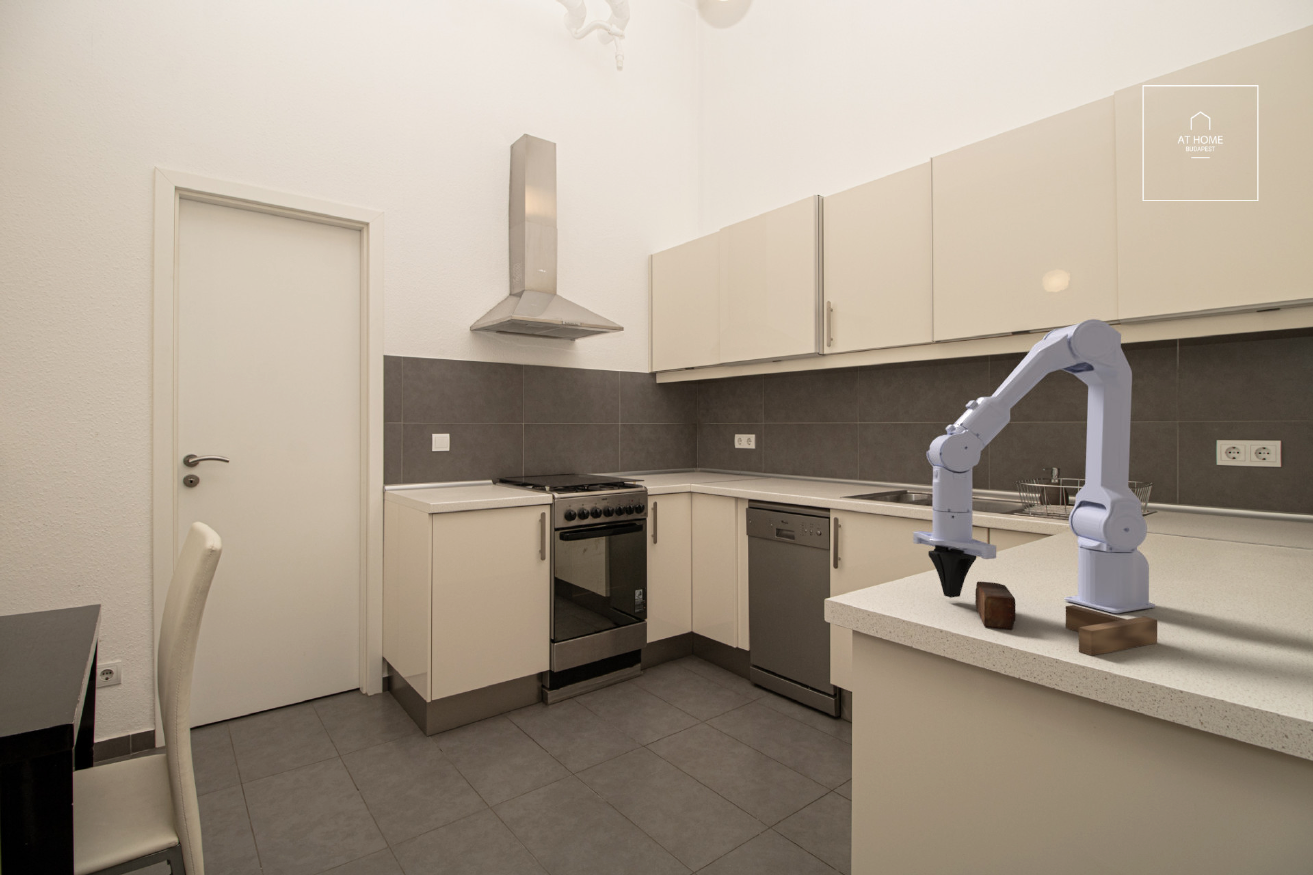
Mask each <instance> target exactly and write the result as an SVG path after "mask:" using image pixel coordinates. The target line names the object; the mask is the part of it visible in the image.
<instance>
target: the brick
mask: <svg viewBox="0 0 1313 875" xmlns="http://www.w3.org/2000/svg"><path fill="white" fill-rule="evenodd" d="M975 585H976V587H975V594H974V595H975V597H974V598H975V601H974V603H975V608H976V611H977V614H978V616H979V617H980V619H981V623H982V624H983V627H984V628H987V629H988V628H989V629H997V630H1005V631H1011V630H1013V629H1014V625H1015V622H1016V621H1017V620H1016V619H1017V618H1016V615H1017V614H1016V605H1017V604H1016V599H1015V597H1014V596H1013V594H1012V593H1011V591H1010V590H1009V588H1008V587H1007V586H1006V584H1003V583H1002V584H1001V583H999V582H998V583H997V582H991V581H977V582H976V584H975Z"/></svg>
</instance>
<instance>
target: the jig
mask: <svg viewBox="0 0 1313 875" xmlns="http://www.w3.org/2000/svg"><path fill="white" fill-rule="evenodd" d="M1065 629H1067V630H1068V629H1069V630H1071V631H1074V632H1078V652H1079V653H1081V654H1085V655H1088V656H1090V657H1093V656H1097V655H1102V654H1103V655H1104V654H1108V653H1112V652H1117V651H1123V650H1127V649H1132V648H1138V647H1144V646H1148V645H1152V644H1153V645H1154V644H1157V643H1158V619H1156V618H1152V617H1149V616H1145V615H1143V616H1139V617H1131V618H1124V617H1120V616H1116V615H1113V614H1108V613H1105V612H1101V611H1097V610H1094V609H1093V610H1092V609H1089V608H1086V607H1082V606H1077V605H1075V604H1073V605H1072V604H1071V605H1066V606H1065Z"/></svg>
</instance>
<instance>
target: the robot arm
mask: <svg viewBox="0 0 1313 875" xmlns="http://www.w3.org/2000/svg"><path fill="white" fill-rule="evenodd" d="M1121 344H1122V333H1121V332H1119V331H1118V330H1116V329H1115V328H1114V327H1113V326H1111V325H1110V324H1109V323H1107V322H1106V321H1104V320H1100V319H1095V318H1090V319H1087V320H1084V321H1082V322H1079V323H1076V324H1072V325H1070V326H1066V327H1065V326H1064V327H1061V328H1055V329H1052V330H1051V331H1049V332H1047V333H1046V334H1045V335H1044V337H1043V338H1042V340H1040V341H1038V342H1036V343H1035V344H1034V345H1032V346H1031V349H1030V351H1029V352H1027V355H1026V356H1024V357H1023V359H1022V360H1021V361H1020V363H1019V364H1018V365H1017V366H1016V367H1015V368H1014V369H1013V371H1012V372H1010V374H1009V375H1008V377H1006V378H1005V379H1004V381H1003V382H1002V384H1000V386H998V387H997V389H996V390H995V391H994V393H992V395H990V396H981V397H978V398H977V399H976V400H973V399H972V400H969V401H968V403H967V404H965V408H966V409H967V410H965V411H964V412H963V414H961V416H960V417H959V418H957V420H956V421H954V423H953V424H949V425H947V426H946V427H945V431H946V434H942V435H939V436H937V437H936V438H935V439H933V440H932V442H931V443H930V445H929V449H928V450H927V451H926V458H927V460H928V463H929V464H930V466H932V531H924V530H919V531H918V530H917V531H913V533H912V534H913V536H912V538H913V539H912V541H913V544H918V545H921V544H922V545H925V546H931V547H934V549H933V550H928V557H929V558H930V560H931V561H932V563H933V565H934V567H935V569H936V573H937V575H938V578H939V581H940V586H941V589H942V592H943V596H944V597H948V598H958V597H961V593H962V590H963V586H964V584H965V579H966V578H967V577H966V576H968V573H969V570H970V569H971V567H972V565H973V564H974V563H975V562H976V560H977V557H980V558H981V559H984V560H993V559H997V545H996V544H990V543H988V542H984V541H981V540H978V539H975V538H973V467H975V466H977V465H978V464H979V462H980V460H981V452H982V451H983V450H984V449H985V448H986V446H987V445H989V443H990V442H992V440H993V439H994V438H995V437H996V436H997V435H998V434H999V433H1000V432H1001V431H1002V430H1003V429H1004V428H1005V427H1006V426H1007V425H1008V424H1009V423H1010V421H1011V409H1012V408H1013V407H1014V406H1015V405H1017V403H1018V402H1019V401H1020V400H1021V399H1022V398H1023V397H1024V396H1026V395H1027V394H1028V393H1029V392H1030V391H1031V390H1032V389H1033V388H1034V387H1035V386H1036V385H1037V384H1038V383H1039V382H1040V381H1041V380H1042V379H1043V378H1045V377H1046V375H1048V374H1049V373H1052V372H1056V371H1060V370H1062V371H1064V372H1067V373H1069V374H1072V375H1073V376H1075V377H1077V379H1079V380H1080V381H1082V382H1083V383H1084V384H1085V385H1086V386H1087V388H1088V389H1087V391H1088V392H1087V393H1088V394H1087V417H1086V419H1087V422H1086V423H1087V425H1086V450H1085V451H1086V452H1085V456H1086V458H1085V477H1084V479H1085V480H1084V481H1085V482H1084V483H1085V484H1083V486H1082V487H1081V489H1080V490H1078V492H1077V493H1076V494H1075V501H1074V506H1073V508H1072V510H1071V511H1070V513H1069V516H1068V524H1069V525H1068V526H1069V528H1070V530H1071V532H1072V533H1073V535H1074V536H1076V538H1077V540H1076V541H1077V545H1078V546H1077V595H1071V596H1065V597H1064V600H1065V601H1067V602H1070V603H1074V604H1078V605H1082V606H1086V607H1089V608H1093V609H1098V610H1101V611H1105V612H1109V613H1112V614H1121V613H1127V612H1132V611H1139V610H1144V609H1150V608H1156V603H1153V602H1150V565H1149V562H1148V559H1147V557H1146V556H1145V554H1143V553H1142V551H1140V550H1138V547H1139V546H1141V545H1142V544H1143V542H1144V541H1145V539H1146V537H1147V534H1148V526H1147V525H1148V524H1147V522H1146V520H1145V518H1144V516H1143V513H1142V502H1141V500H1140V499H1139V497H1137V495H1136V494H1135V493H1134V492H1133V491H1132V489H1130V487H1129V475H1130V473H1129V472H1130V448H1131V447H1130V446H1131V445H1130V444H1131V421H1132V420H1131V416H1132V414H1131V412H1132V384H1133V372H1132V369H1131V366H1130V365H1129V362H1128V360H1127V357H1126V355H1125V353H1124V351H1123V349H1122V345H1121Z"/></svg>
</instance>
